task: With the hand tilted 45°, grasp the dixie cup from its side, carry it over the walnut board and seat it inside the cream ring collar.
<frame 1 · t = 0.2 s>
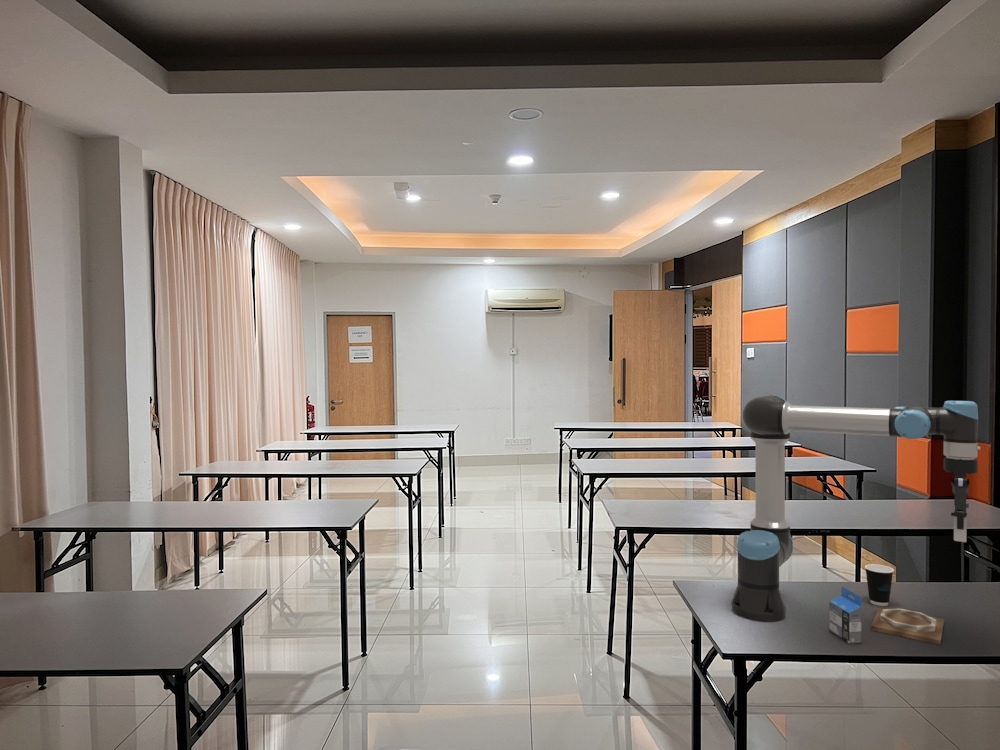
hand: (960, 536, 173), 28 cm above the table, fingers open, 13 cm apart
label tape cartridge: (845, 637, 175), on the table
dixie cup: (879, 603, 199), on the table
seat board: (908, 626, 181), on the table
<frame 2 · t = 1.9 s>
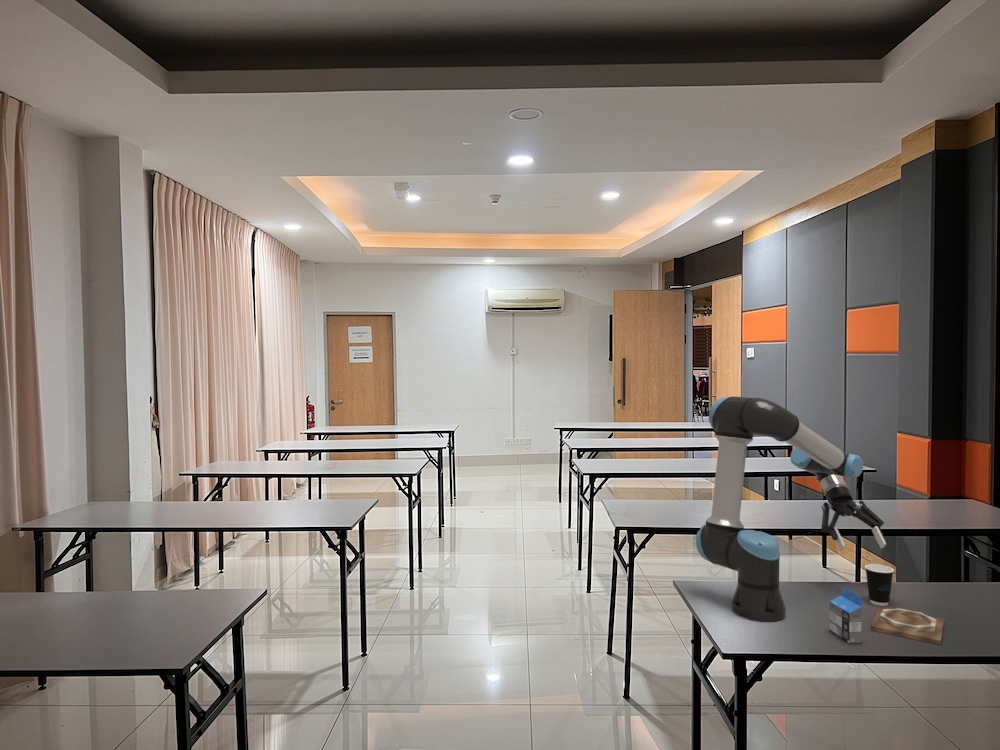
hand: (863, 547, 207), 15 cm above the table, fingers open, 13 cm apart
nothing on the table moved.
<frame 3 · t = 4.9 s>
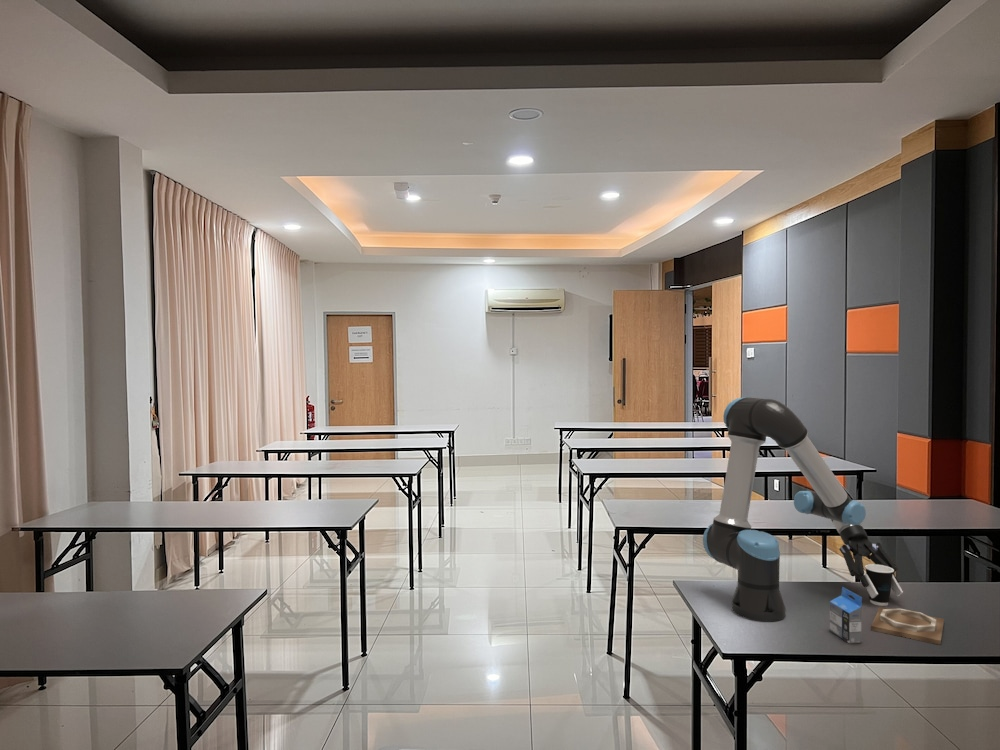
hand: (887, 595, 196), 4 cm above the table, fingers closed on dixie cup, 8 cm apart
dixie cup: (879, 603, 199), on the table, touching gripper
everything else where it was.
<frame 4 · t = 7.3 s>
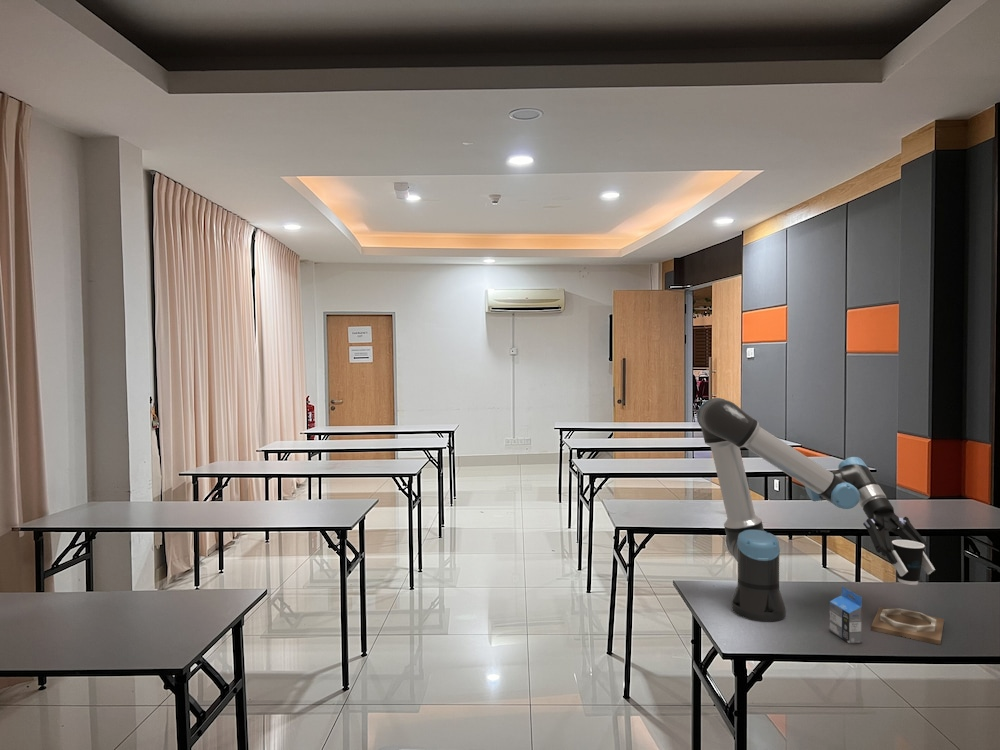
hand: (917, 572, 178), 16 cm above the table, fingers closed on dixie cup, 8 cm apart
dixie cup: (908, 582, 181), point 12 cm above the table, touching gripper
everything else where it was.
when the fingers open (6 cm above the table, at t = 9.6 s): dixie cup stays where it is, resting on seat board.
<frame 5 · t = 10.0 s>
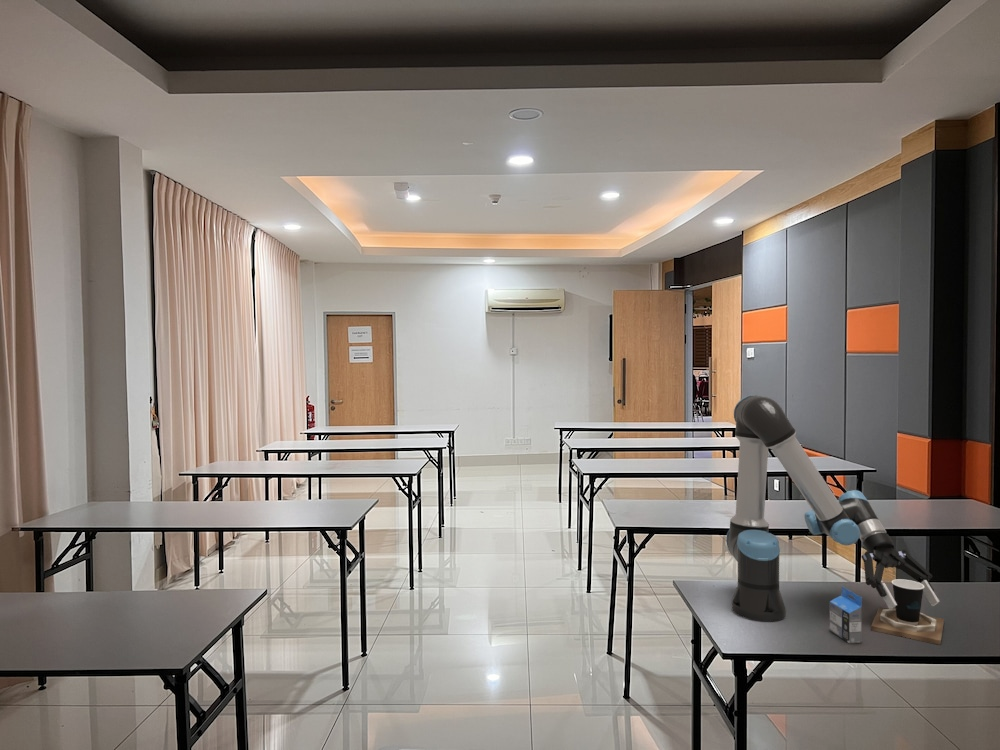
hand: (914, 605, 179), 7 cm above the table, fingers open, 13 cm apart
dixie cup: (907, 622, 181), point 1 cm above the table, touching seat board
everything else where it was.
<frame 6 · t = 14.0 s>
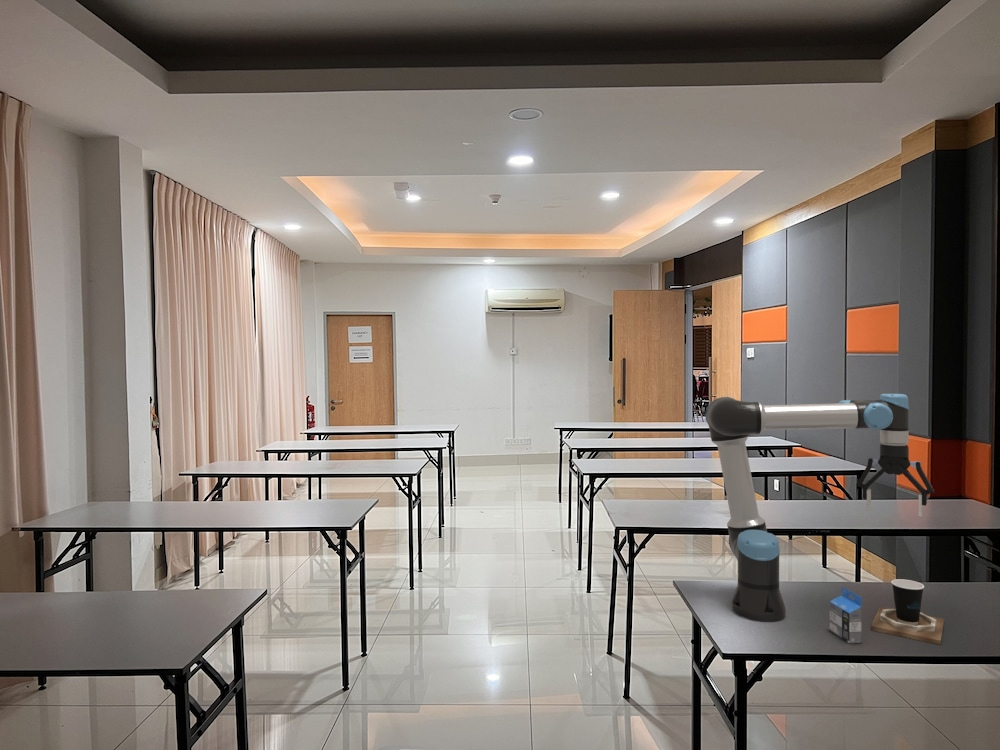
hand: (894, 513, 197), 29 cm above the table, fingers open, 13 cm apart
nothing on the table moved.
at the end: dixie cup 0.1 cm from the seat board (horizontally); dixie cup tilted 0°; the gripper is holding nothing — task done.
